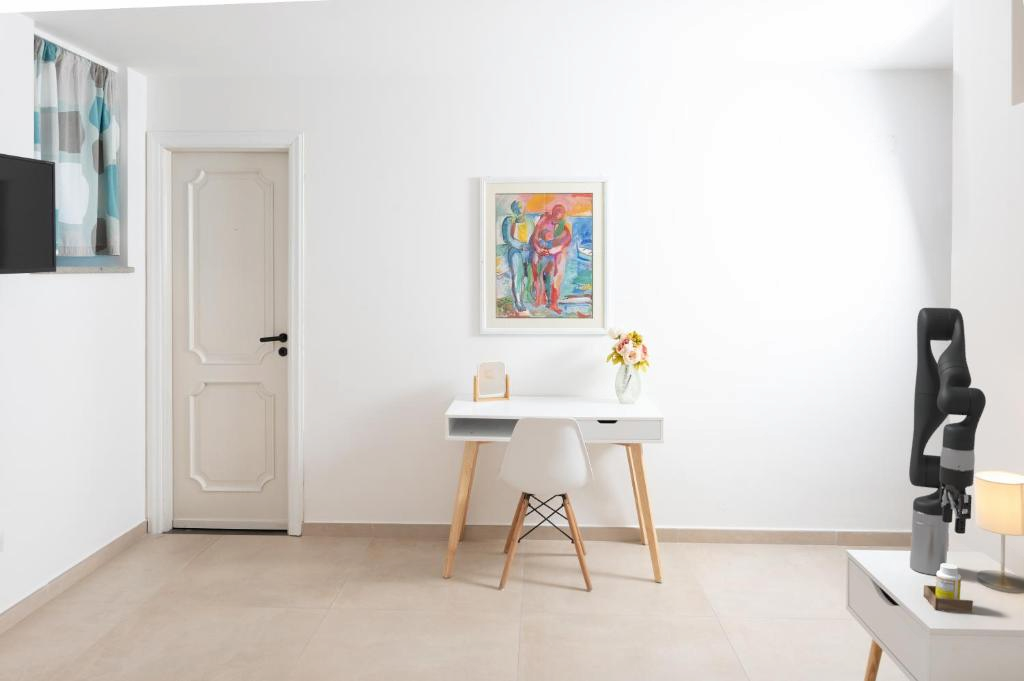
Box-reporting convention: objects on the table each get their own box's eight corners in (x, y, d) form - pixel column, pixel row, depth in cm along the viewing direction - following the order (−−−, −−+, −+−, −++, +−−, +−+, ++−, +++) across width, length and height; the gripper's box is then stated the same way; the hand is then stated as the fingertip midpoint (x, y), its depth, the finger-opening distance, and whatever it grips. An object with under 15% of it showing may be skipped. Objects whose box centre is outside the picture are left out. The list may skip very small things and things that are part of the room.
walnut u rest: (923, 596, 207) (924, 585, 207) (958, 598, 206) (959, 587, 206) (935, 610, 199) (936, 598, 199) (972, 612, 197) (972, 601, 197)
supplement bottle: (950, 599, 206) (952, 561, 205) (964, 608, 200) (966, 569, 199) (930, 600, 205) (932, 562, 204) (943, 609, 199) (946, 570, 199)
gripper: (931, 458, 207) (927, 518, 208) (951, 471, 193) (947, 535, 194) (962, 459, 205) (958, 519, 207) (985, 473, 192) (980, 537, 193)
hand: (953, 527), depth 201 cm, fingers open, 8 cm apart
